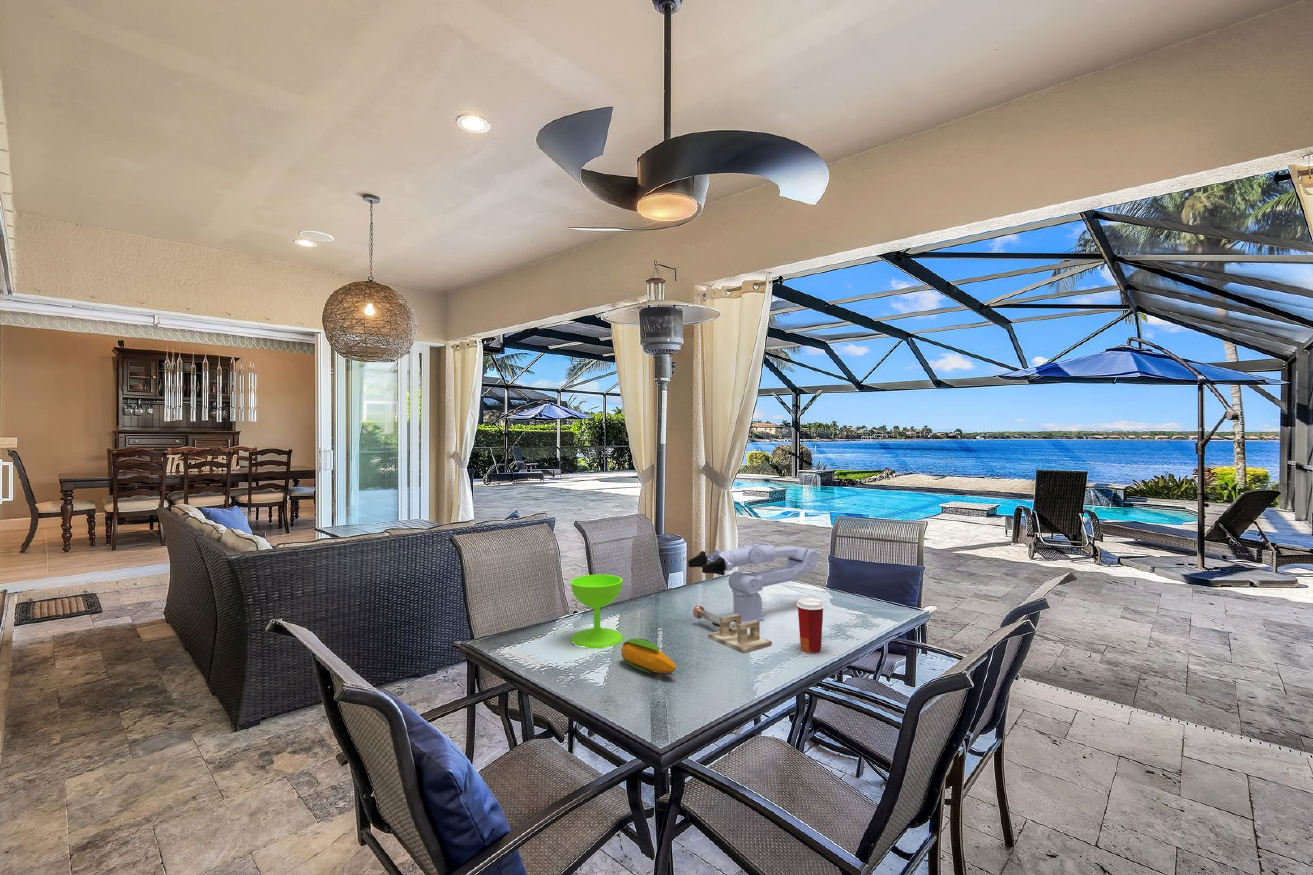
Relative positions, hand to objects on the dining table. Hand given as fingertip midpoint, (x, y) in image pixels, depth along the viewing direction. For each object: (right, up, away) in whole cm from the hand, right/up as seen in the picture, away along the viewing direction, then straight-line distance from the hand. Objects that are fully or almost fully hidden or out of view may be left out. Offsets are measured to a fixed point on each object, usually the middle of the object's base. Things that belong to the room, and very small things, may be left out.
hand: (695, 566), depth 181 cm
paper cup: (+32, -20, -17) cm, 42 cm away
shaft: (+6, -18, -1) cm, 19 cm away
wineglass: (-31, -21, -7) cm, 38 cm away
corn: (-14, -21, -31) cm, 40 cm away
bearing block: (+13, -20, -10) cm, 26 cm away
